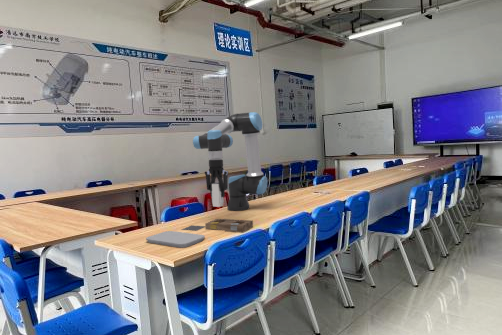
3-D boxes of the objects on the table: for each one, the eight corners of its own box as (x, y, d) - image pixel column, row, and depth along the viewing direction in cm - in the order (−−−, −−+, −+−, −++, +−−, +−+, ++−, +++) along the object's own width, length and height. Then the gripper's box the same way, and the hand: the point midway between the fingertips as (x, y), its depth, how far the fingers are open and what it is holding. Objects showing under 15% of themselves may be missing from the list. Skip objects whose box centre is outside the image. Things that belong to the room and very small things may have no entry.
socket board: (217, 224, 196) (216, 218, 196) (252, 227, 187) (252, 220, 187) (205, 230, 185) (205, 223, 185) (242, 232, 176) (242, 225, 176)
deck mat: (191, 226, 196) (191, 225, 196) (206, 227, 192) (206, 226, 192) (180, 230, 187) (180, 229, 187) (196, 231, 183) (196, 230, 183)
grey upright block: (212, 206, 187) (211, 182, 186) (216, 205, 190) (215, 182, 190) (219, 206, 185) (218, 183, 184) (223, 205, 189) (222, 182, 188)
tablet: (168, 234, 181) (168, 230, 181) (207, 240, 167) (207, 235, 167) (143, 243, 167) (143, 238, 167) (183, 249, 153) (183, 244, 153)
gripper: (198, 160, 186) (200, 203, 188) (226, 159, 179) (228, 204, 181) (205, 159, 193) (208, 201, 195) (233, 158, 186) (235, 202, 187)
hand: (217, 203), depth 188 cm, fingers closed on grey upright block, 4 cm apart
